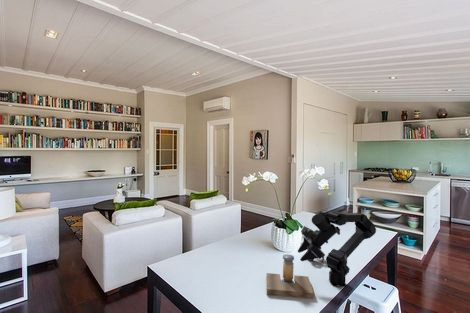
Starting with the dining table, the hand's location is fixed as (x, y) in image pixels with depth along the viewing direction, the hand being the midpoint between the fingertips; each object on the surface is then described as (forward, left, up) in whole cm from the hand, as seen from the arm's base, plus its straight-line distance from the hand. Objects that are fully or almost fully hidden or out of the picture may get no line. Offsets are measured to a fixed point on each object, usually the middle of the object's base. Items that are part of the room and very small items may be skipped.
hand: (299, 256), depth 117 cm
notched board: (+5, +4, -13) cm, 15 cm away
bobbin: (+5, 0, -13) cm, 15 cm away
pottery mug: (-12, -27, -14) cm, 33 cm away
